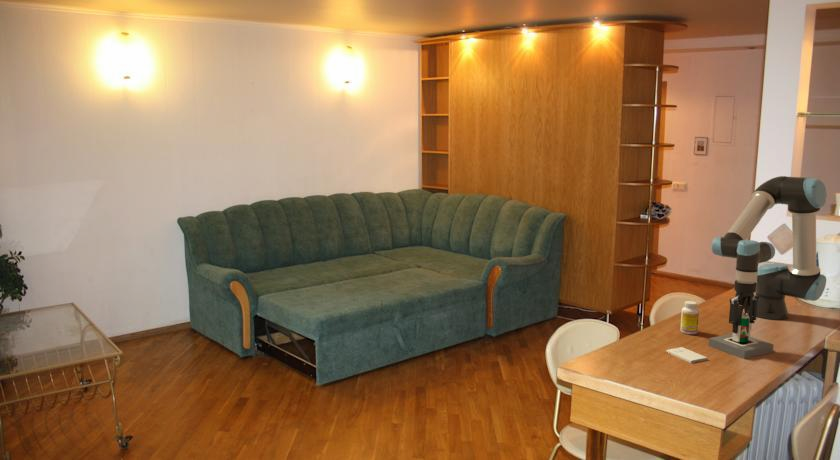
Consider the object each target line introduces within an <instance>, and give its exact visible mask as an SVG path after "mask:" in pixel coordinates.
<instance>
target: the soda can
mask: <svg viewBox="0 0 840 460" xmlns="http://www.w3.org/2000/svg"><path fill="white" fill-rule="evenodd" d="M739 325H741V331H740V342H737V341H734V342H735V343H738V344H741V345H745V344H748V338H749V325H750V317H749V314H747V313H745V312H742V316H741V320H740V324H739Z"/></svg>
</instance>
